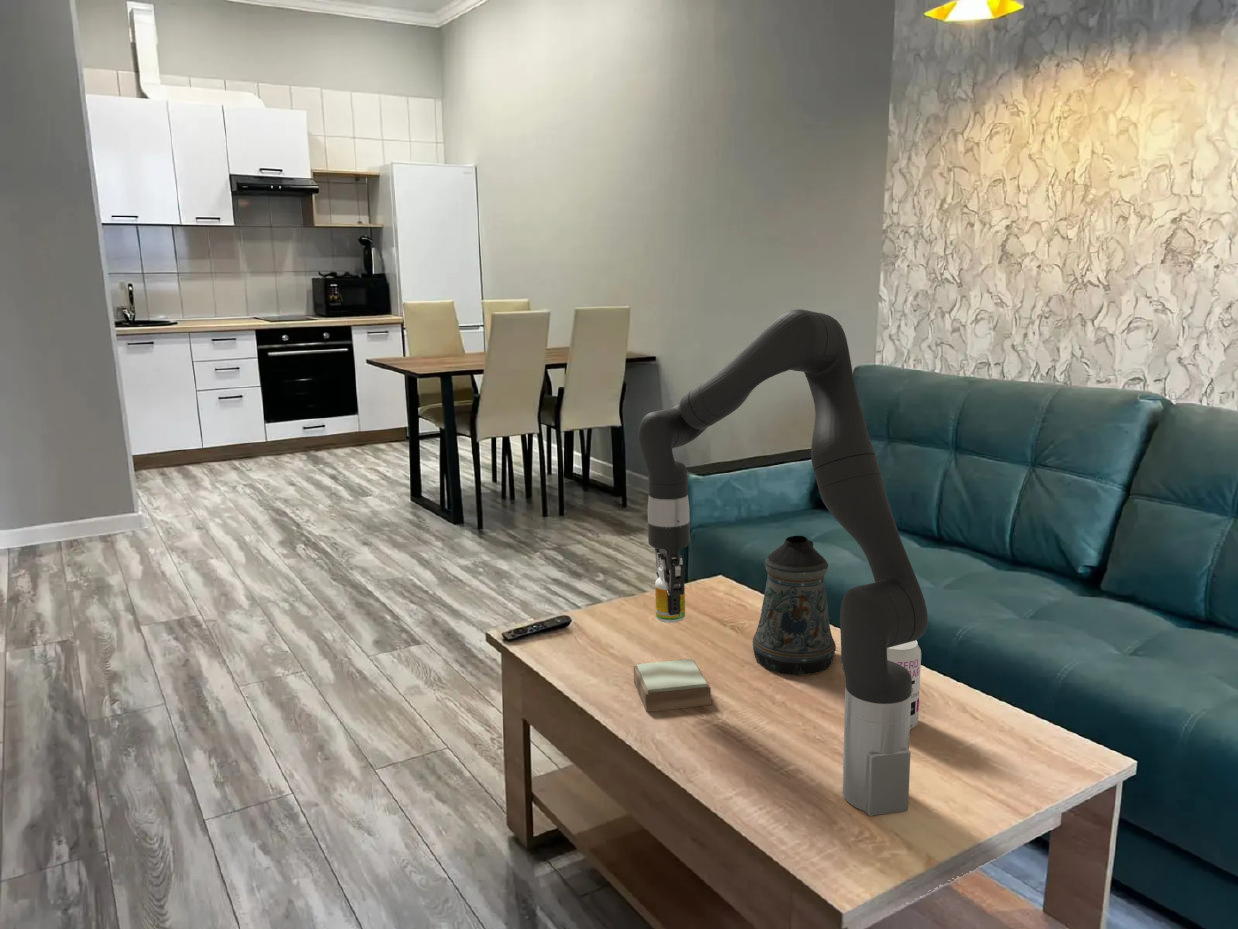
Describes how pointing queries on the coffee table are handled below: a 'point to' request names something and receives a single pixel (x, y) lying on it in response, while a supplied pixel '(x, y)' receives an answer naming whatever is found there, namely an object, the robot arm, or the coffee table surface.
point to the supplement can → (910, 660)
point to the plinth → (671, 685)
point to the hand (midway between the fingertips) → (670, 607)
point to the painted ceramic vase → (795, 612)
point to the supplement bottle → (663, 603)
